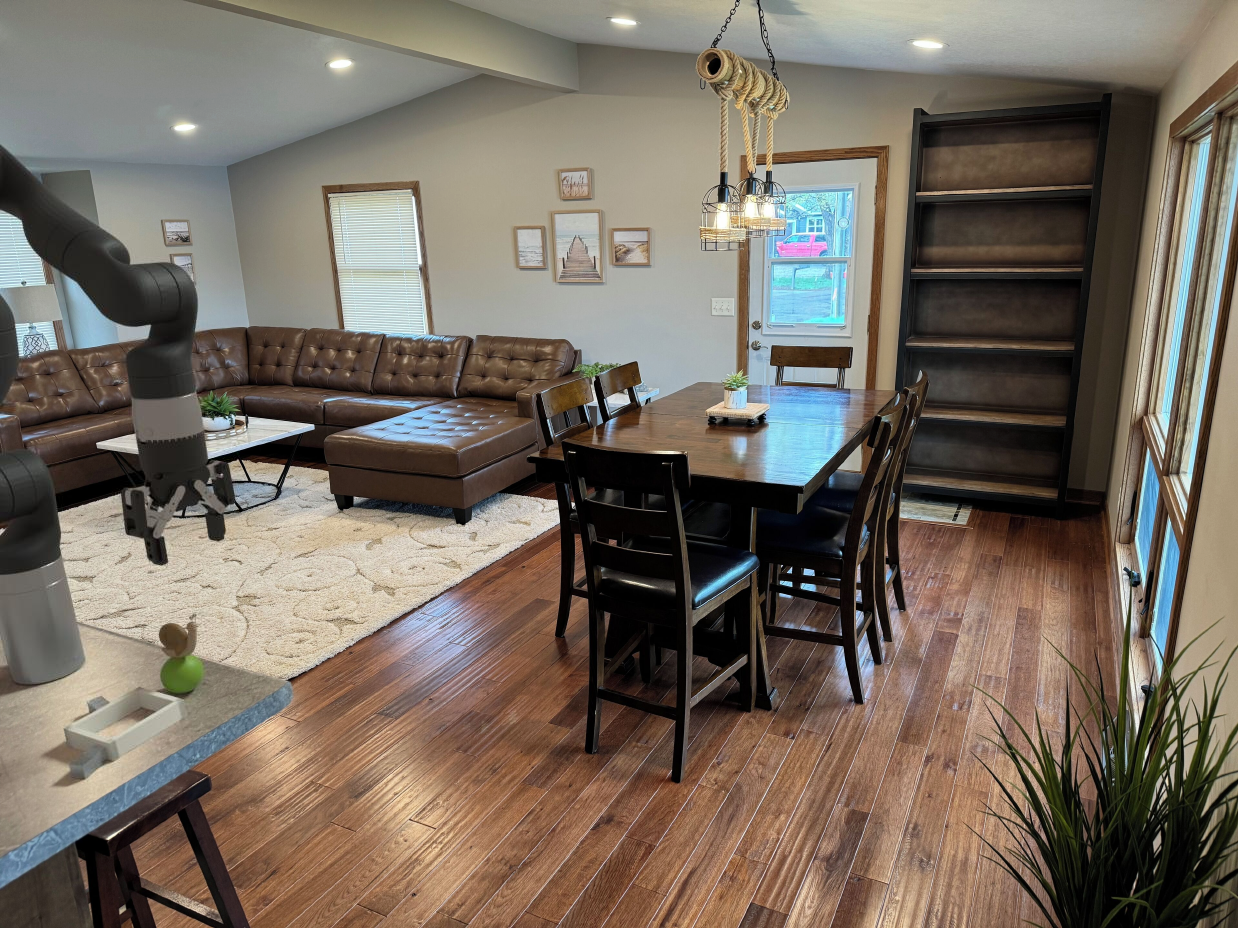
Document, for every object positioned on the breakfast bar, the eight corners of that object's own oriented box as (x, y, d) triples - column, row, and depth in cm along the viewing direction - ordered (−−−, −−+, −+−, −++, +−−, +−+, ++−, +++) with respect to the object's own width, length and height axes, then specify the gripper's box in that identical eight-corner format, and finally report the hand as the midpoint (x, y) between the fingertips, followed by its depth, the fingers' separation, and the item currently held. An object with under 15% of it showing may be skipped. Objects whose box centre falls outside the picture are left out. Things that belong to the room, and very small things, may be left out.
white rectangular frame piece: (12, 755, 106) (7, 738, 105) (120, 696, 119) (117, 680, 118) (81, 781, 101) (77, 762, 100) (187, 716, 114) (184, 699, 113)
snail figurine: (195, 702, 117) (180, 623, 113) (155, 699, 118) (139, 620, 115) (221, 682, 122) (207, 606, 118) (181, 678, 123) (167, 603, 120)
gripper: (197, 414, 112) (214, 528, 117) (94, 440, 100) (118, 567, 105) (238, 420, 109) (254, 537, 114) (138, 447, 97) (160, 577, 102)
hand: (189, 551), depth 109 cm, fingers open, 8 cm apart
